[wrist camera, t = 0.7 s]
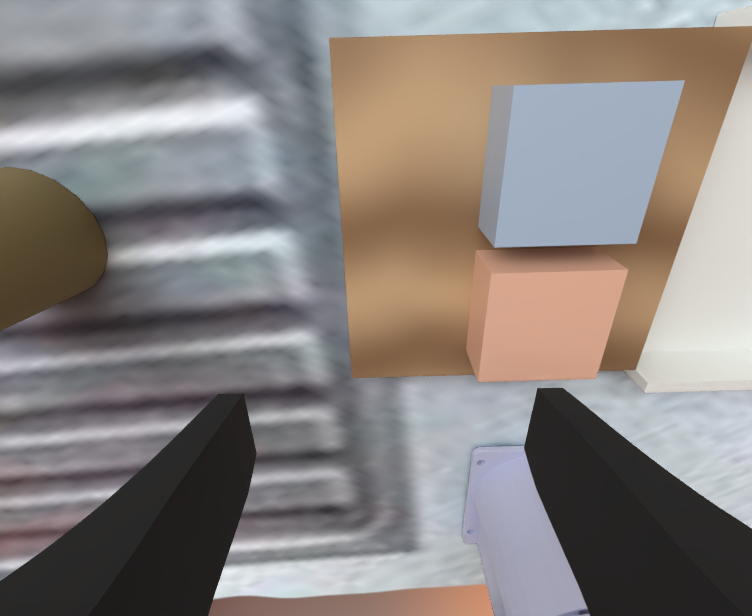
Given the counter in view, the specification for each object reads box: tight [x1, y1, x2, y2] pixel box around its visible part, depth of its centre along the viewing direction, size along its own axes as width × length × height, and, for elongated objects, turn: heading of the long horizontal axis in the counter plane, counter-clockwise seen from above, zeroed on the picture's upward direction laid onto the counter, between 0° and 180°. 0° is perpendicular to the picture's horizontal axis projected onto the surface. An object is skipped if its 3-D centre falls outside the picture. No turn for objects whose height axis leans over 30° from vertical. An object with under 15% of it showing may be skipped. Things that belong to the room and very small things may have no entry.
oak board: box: [329, 26, 752, 378], centre depth 17 cm, size 14×14×2 cm
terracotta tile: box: [466, 247, 628, 382], centre depth 17 cm, size 5×5×2 cm
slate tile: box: [478, 80, 685, 248], centre depth 14 cm, size 5×5×2 cm
